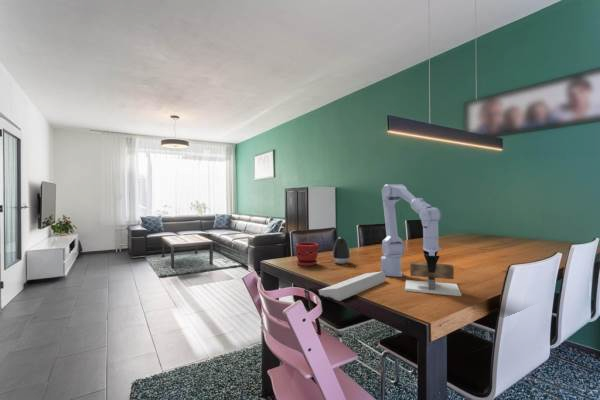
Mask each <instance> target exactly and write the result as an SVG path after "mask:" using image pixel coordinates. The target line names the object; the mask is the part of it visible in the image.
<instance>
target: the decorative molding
mask: <svg viewBox="0 0 600 400" xmlns="http://www.w3.org/2000/svg"><path fill="white" fill-rule="evenodd" d="M386 281H387V277H386V276H385V274H384V271H381V270H380V271H375V272H366V273H363V274H360V275H357V276H354V277H351V278H349V279H346V280H344V281H341V282H337V283H335V284H332V285H330V286H327V287H324V288H321V289H318V290H317V292H318V293H319V294H318V295H319V296H323V297H326V298H332V299H333V300H335V301H339V302H341V301H343V300H345V299H348V298H351V297H352V296H355V295H357V294H360V293H361V292H364V291H367V290H369V289H371V288H374V287H376V286H378V285H381V284H382V283H385V282H386Z"/></svg>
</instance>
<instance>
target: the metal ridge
mask: <svg viewBox="0 0 600 400" xmlns="http://www.w3.org/2000/svg"><path fill="white" fill-rule="evenodd" d="M427 282H428V288H429V290H435V282H436V278H430V277H427Z"/></svg>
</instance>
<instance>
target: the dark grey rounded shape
mask: <svg viewBox="0 0 600 400" xmlns="http://www.w3.org/2000/svg"><path fill="white" fill-rule="evenodd" d="M350 258H351V251H350V246H349V244H348V241H347V240H346V238H345V237H343V236H339V237H337V239H336V240H335V243H334V244H333V249H332V259H333V261H334V262H335V263H336V264H338V265H345V264H347V263H348V262H349V261H350Z"/></svg>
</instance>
